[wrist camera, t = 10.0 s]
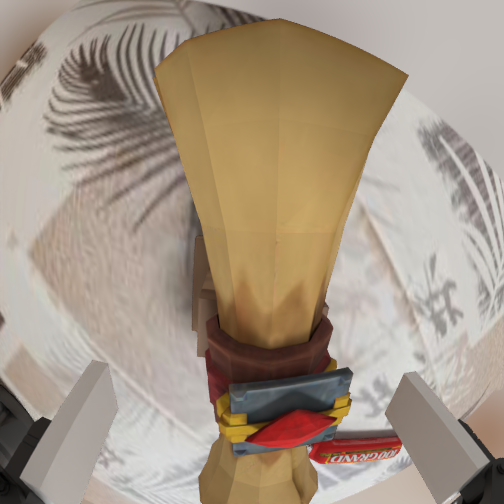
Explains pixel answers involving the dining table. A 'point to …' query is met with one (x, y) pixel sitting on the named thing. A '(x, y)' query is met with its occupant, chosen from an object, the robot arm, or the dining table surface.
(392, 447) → the candy bar
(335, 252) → the scroll
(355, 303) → the dining table surface
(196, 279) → the ridge block
